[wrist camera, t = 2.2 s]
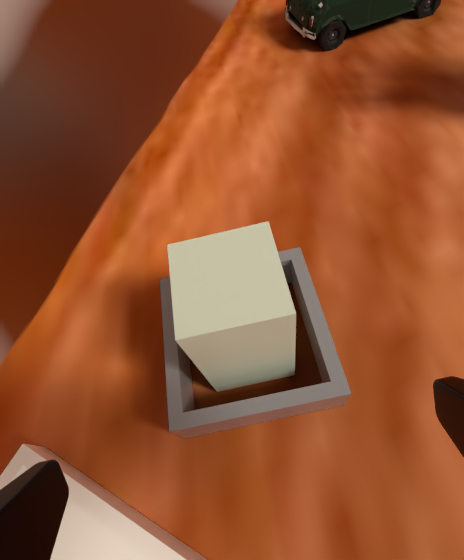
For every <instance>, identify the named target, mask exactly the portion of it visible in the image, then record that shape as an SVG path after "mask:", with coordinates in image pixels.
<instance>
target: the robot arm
mask: <svg viewBox="0 0 464 560" xmlns="http://www.w3.org/2000/svg"><path fill="white" fill-rule="evenodd" d="M433 390H434V400H435V410H436V414H437V417H438V419H439V421H440V423H441V425H442V426H443V428H444V429H445V430H446V432H447V433H448V435H449V436H450V438H451V439H452V441H453V442H454V444H455V445H456V447H457V448H458V450H459V451H460V453H461V454H462V456H463V457H464V379H461V378H458V377H454V376H450V377H445V378H441V379H436V380H435V381H434V383H433ZM68 497H69V487H68V484H67V482H66V479H65V477H64V474H63V472H62V469H61V467H60V465H59V463H58V461H56V460H54V459H52V460H47V461H42V462H38V463H36V464H35V465H33V466H32V467H31V468H29V469H28V470H26V471H25V472H24V473H22V474H21V475H20V476H18V477H17V478H16V479H14V480H13V481H11V482H10V483H9V484H7V485H6V486H5V487H3V488H2V489H1V490H0V560H50V558H51V555H52V552H53V548H54V545H55V542H56V538H57V535H58V532H59V528H60V525H61V521H62V518H63V515H64V511H65V508H66V505H67V501H68Z"/></svg>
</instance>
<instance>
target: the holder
mask: <svg viewBox="0 0 464 560" xmlns="http://www.w3.org/2000/svg"><path fill="white" fill-rule="evenodd" d="M278 255H279V258H280V261H281V265H282V268H283V271H284V275H285V278H286V281H287V284H289V283H292V286H293V289H294V293H295V296H296V299H297V302H298V306H299V309H300V312H301V315H302V318H303V322H304V325H305V328H306V331H307V335H308V338H309V341H310V344H311V347H312V351H313V354H314V357H315V360H316V363H317V367H318V370H319V373H320V376H321V380H322V383H321V384H316V385H312V386H307V387H302V388H297V389H293V390H288V391H283V392H278V393H274V394H269V395H264V396H260V397H255V398H250V399H245V400H241V401H236V402H231V403H226V404H222V405H217V406H212V407H207V408H203V409H198V410H195V405H194V395H193V385H192V376H191V366H190V358H189V357H188V355H187V354H186V353H185V352H184V351H183V349H182V348H181V347H180V346H179V344H178V343H177V342H176V341H175V332H174V319H173V307H172V295H171V283H170V277H167V278H162V279H160V292H161V308H162V324H163V340H164V356H165V372H166V388H167V405H168V421H169V432H171V433H173V434H175V435H178V436H180V437H182V438H190V437H194V436H199V435H204V434H209V433H214V432H219V431H223V430H228V429H233V428H238V427H243V426H247V425H252V424H257V423H262V422H267V421H272V420H276V419H281V418H286V417H291V416H296V415H300V414H305V413H310V412H315V411H320V410H325V409H329V408H334V407H339V406H344V405H345V403H346V401H347V400H348V398H349V397H350V395H351V391H350V388H349V385H348V382H347V380H346V377H345V374H344V371H343V368H342V365H341V362H340V360H339V357H338V354H337V351H336V348H335V345H334V342H333V340H332V337H331V334H330V331H329V328H328V325H327V322H326V320H325V317H324V314H323V311H322V308H321V305H320V303H319V300H318V297H317V294H316V291H315V288H314V285H313V283H312V280H311V277H310V274H309V271H308V268H307V265H306V263H305V260H304V257H303V254H302V251H301V248H300V247H298V248H294V249H290V250H285V251H281V252H278Z"/></svg>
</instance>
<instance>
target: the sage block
mask: <svg viewBox="0 0 464 560" xmlns="http://www.w3.org/2000/svg"><path fill="white" fill-rule="evenodd" d="M167 247H168V259H169V271H170V283H171V295H172V307H173V319H174V332H175V341H176V342H177V343H178V344H179V346H180V347H181V348H182V349H183V351H184V352H185V353H186V354H187V355H188V357H189V358H190V359H191V360H192V362H193V363H194V364H195V365H196V367H197V368H198V369H199V370H200V372H201V373H202V374H203V375H204V376H205V378H206V379H207V380H208V381H209V383H210V384H211V385H212V386H213V388H214V389H215V390H216V391H217V392H219V391H224V390H228V389H233V388H238V387H242V386H247V385H252V384H256V383H261V382H266V381H271V380H275V379H280V378H285V377H289V376H294V375H295V347H296V311H295V308H294V304H293V301H292V298H291V294H290V291H289V288H288V285H287V281H286V278H285V275H284V271H283V268H282V265H281V261H280V258H279V255H278V251H277V248H276V245H275V242H274V238H273V235H272V232H271V228H270V225H269V222H263V223H259V224H255V225H251V226H246V227H242V228H238V229H233V230H229V231H225V232H220V233H216V234H212V235H207V236H203V237H199V238H194V239H190V240H186V241H182V242H177V243H173V244H169V245H167Z"/></svg>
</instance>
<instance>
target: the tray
mask: <svg viewBox="0 0 464 560" xmlns="http://www.w3.org/2000/svg"><path fill="white" fill-rule="evenodd" d="M52 459H54V460H56V461H58V463H59V465H60V467H61V469H62V472H63V474H64V477H65V479H66V482H67V484H68V487H69V497H68V501H67V505H66V508H65V511H64V515H63V518H62V521H61V525H60V528H59V532H58V535H57V538H56V542H55V545H54V548H53V552H52V555H51V558H50V560H207V559H206V558H204V557H203V556H201V555H200V554H199V553H197V552H196V551H194V550H193V549H191V548H190V547H188V546H187V545H186V544H184V543H183V542H181V541H180V540H178V539H177V538H175V537H174V536H173V535H171V534H170V533H168V532H167V531H165V530H164V529H162V528H161V527H160V526H158V525H157V524H155V523H154V522H152V521H151V520H149V519H148V518H147V517H145V516H144V515H142V514H141V513H139V512H138V511H136V510H135V509H134V508H132V507H131V506H129V505H128V504H126V503H125V502H123V501H122V500H121V499H119V498H118V497H116V496H115V495H113V494H112V493H110V492H109V491H108V490H106V489H105V488H103V487H102V486H100V485H99V484H97V483H96V482H95V481H93V480H92V479H90V478H89V477H87V476H86V475H84V474H83V473H82V472H80V471H79V470H77V469H76V468H74V467H73V466H71V465H70V464H69V463H67V462H66V461H64V460H63V459H61V458H60V457H58V456H57V455H56V454H54V453H53V452H51V451H50V450H48V449H47V448H45V447H43V446H36V445H30V444H22V445H21V447H20V448H19V450H18V451H17V453H16V454H15V455H14V457H13V458H12V460H11V461H10V463H9V464H8V466H7V467H6V468H5V470H4V471H3V473H2V474H1V476H0V490H1V489H2V488H3V487H5V486H6V485H7V484H9V483H10V482H11V481H13V480H14V479H16V478H17V477H18V476H20V475H21V474H22V473H24V472H25V471H26V470H28V469H29V468H31V467H32V466H33V465H35V464H36V463H38V462H42V461H47V460H52Z"/></svg>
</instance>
